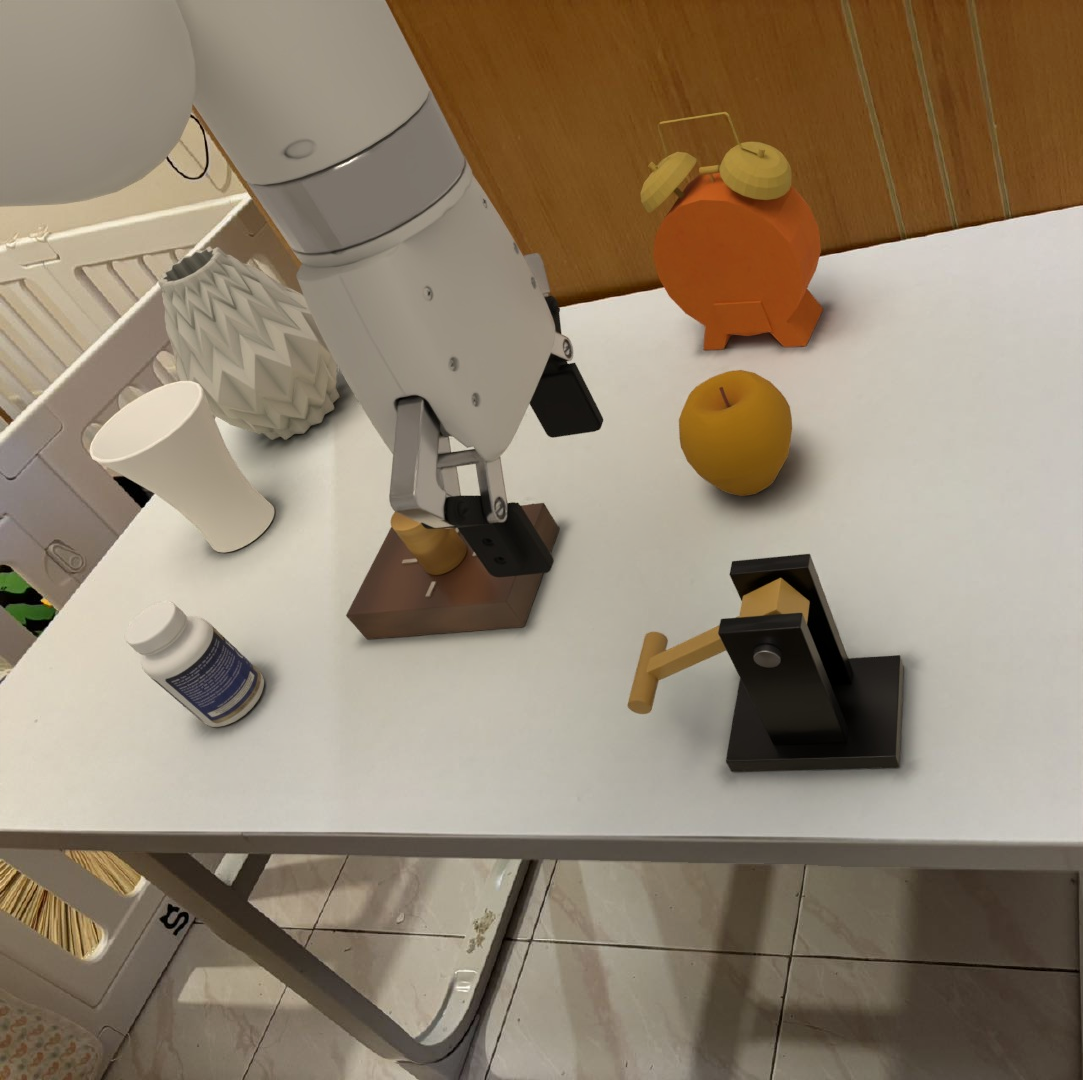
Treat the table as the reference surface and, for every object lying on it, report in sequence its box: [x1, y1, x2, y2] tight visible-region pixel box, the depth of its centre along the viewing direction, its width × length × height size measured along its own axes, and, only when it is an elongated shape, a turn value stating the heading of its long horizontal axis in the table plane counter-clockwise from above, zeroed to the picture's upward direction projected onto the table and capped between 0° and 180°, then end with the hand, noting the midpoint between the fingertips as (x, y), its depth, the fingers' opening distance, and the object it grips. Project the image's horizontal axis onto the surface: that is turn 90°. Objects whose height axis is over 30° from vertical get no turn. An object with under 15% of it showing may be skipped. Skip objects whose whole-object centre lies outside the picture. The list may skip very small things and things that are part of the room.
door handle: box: [626, 578, 810, 715], centre depth 57 cm, size 12×5×2 cm, turn 81°
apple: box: [678, 369, 793, 497], centre depth 75 cm, size 8×8×9 cm
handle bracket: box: [718, 553, 905, 773], centre depth 57 cm, size 10×7×12 cm
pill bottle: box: [124, 600, 265, 728], centre depth 75 cm, size 5×5×10 cm
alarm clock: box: [639, 111, 824, 351], centre depth 85 cm, size 13×6×20 cm, turn 69°
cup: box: [89, 381, 276, 553], centre depth 91 cm, size 10×10×14 cm
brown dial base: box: [345, 502, 560, 640], centre depth 79 cm, size 14×10×3 cm
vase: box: [157, 246, 341, 441], centre depth 101 cm, size 16×16×18 cm
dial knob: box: [390, 511, 467, 575], centre depth 76 cm, size 4×4×5 cm
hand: (552, 496), depth 50 cm, fingers open, 9 cm apart
